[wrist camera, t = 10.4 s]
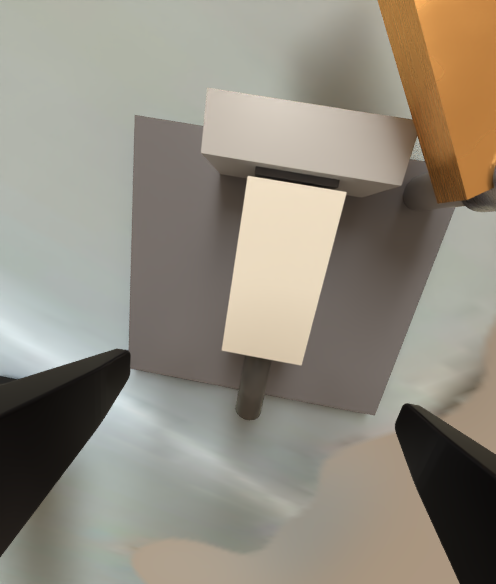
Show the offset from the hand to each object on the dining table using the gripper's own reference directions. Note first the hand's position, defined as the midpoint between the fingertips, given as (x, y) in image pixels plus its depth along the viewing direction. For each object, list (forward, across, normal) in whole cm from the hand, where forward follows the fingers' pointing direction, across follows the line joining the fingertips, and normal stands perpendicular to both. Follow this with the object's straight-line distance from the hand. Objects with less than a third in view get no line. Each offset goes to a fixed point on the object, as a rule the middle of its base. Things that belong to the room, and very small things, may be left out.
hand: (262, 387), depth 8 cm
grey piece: (+9, 0, -2) cm, 9 cm away
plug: (+8, 0, 0) cm, 8 cm away
